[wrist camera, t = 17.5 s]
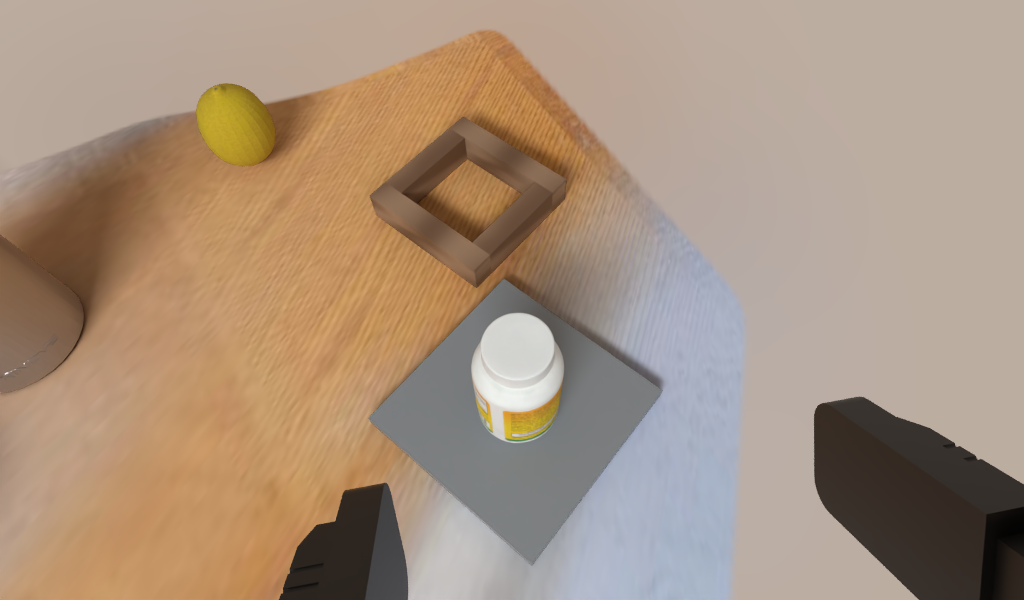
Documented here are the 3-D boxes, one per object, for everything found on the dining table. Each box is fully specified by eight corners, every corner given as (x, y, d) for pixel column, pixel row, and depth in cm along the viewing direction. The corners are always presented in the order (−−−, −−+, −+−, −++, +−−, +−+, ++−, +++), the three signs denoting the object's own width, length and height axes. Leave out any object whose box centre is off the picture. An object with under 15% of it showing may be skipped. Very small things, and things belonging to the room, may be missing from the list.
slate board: (371, 422, 42) (368, 418, 41) (504, 285, 47) (503, 278, 46) (531, 565, 37) (531, 563, 36) (659, 396, 42) (662, 390, 41)
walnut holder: (376, 215, 50) (369, 195, 48) (465, 137, 54) (463, 116, 52) (476, 288, 47) (474, 270, 45) (564, 199, 51) (566, 179, 49)
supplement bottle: (463, 421, 41) (447, 363, 32) (502, 356, 43) (496, 285, 34) (536, 460, 39) (538, 409, 31) (572, 390, 41) (584, 325, 33)
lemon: (226, 141, 55) (182, 68, 48) (289, 133, 55) (254, 59, 48) (221, 189, 52) (174, 118, 45) (287, 181, 52) (250, 109, 45)
